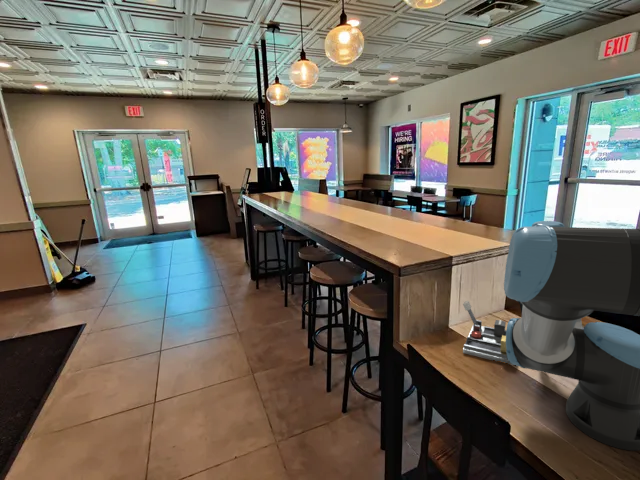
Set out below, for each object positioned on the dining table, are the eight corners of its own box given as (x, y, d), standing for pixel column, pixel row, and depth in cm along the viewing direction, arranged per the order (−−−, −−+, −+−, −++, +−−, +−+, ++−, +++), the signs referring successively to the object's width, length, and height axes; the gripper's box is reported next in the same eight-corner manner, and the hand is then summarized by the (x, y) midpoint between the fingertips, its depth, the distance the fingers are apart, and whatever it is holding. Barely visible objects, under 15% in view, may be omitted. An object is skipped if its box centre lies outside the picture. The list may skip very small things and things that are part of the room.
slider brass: (511, 355, 98) (512, 342, 97) (500, 353, 100) (501, 339, 99) (512, 349, 101) (513, 336, 100) (501, 347, 103) (502, 334, 102)
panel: (516, 366, 96) (517, 353, 95) (462, 352, 105) (463, 340, 103) (520, 337, 110) (521, 326, 109) (473, 328, 119) (473, 317, 118)
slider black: (503, 337, 108) (504, 325, 107) (493, 335, 109) (494, 323, 108) (504, 333, 111) (505, 320, 109) (495, 331, 112) (495, 319, 111)
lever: (479, 329, 112) (467, 303, 113) (475, 330, 113) (462, 304, 114) (480, 326, 114) (468, 300, 114) (476, 327, 115) (464, 301, 115)
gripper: (572, 274, 89) (564, 348, 95) (517, 268, 96) (513, 337, 102) (573, 283, 83) (565, 362, 89) (515, 277, 90) (511, 349, 96)
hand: (537, 349), depth 95 cm, fingers closed
